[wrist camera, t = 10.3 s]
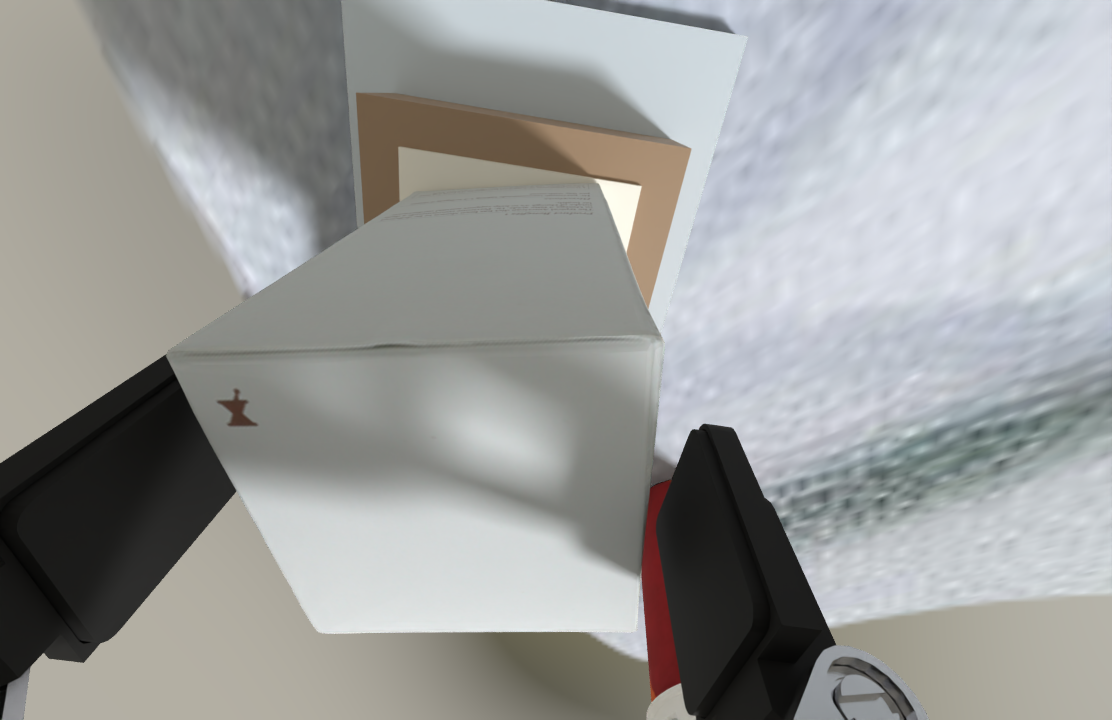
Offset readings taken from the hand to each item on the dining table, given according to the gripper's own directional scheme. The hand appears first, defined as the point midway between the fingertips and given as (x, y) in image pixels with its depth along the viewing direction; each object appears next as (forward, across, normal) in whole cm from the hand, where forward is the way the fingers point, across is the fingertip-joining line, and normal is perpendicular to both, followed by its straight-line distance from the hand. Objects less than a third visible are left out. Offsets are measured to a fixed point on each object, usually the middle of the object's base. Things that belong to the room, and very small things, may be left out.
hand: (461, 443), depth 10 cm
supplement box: (+11, 0, 0) cm, 11 cm away
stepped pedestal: (+16, 0, +1) cm, 16 cm away
